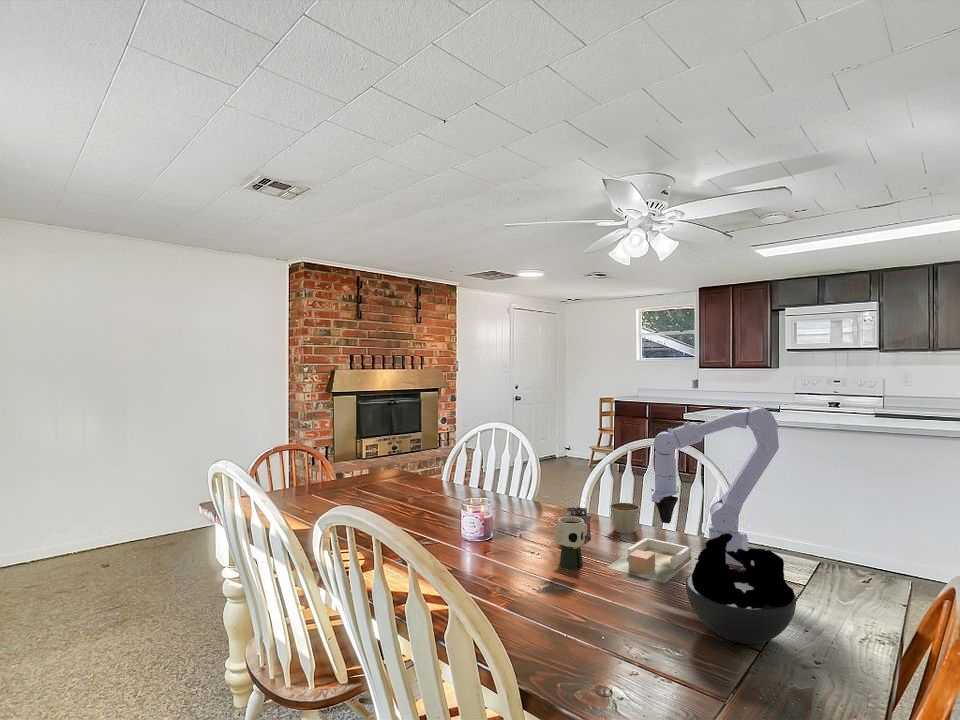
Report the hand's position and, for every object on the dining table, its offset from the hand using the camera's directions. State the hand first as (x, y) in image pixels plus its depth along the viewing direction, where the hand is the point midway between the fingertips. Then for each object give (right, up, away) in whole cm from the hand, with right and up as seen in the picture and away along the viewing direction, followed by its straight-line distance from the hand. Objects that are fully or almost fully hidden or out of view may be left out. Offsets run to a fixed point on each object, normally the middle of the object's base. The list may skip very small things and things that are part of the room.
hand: (666, 522), depth 154 cm
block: (-11, -9, -12) cm, 18 cm away
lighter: (-22, -10, +15) cm, 29 cm away
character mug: (-28, -10, -8) cm, 31 cm away
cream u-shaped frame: (-3, -8, -4) cm, 10 cm away
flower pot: (-6, -10, +20) cm, 23 cm away
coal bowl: (-1, -10, -45) cm, 46 cm away
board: (-6, -10, -8) cm, 14 cm away
